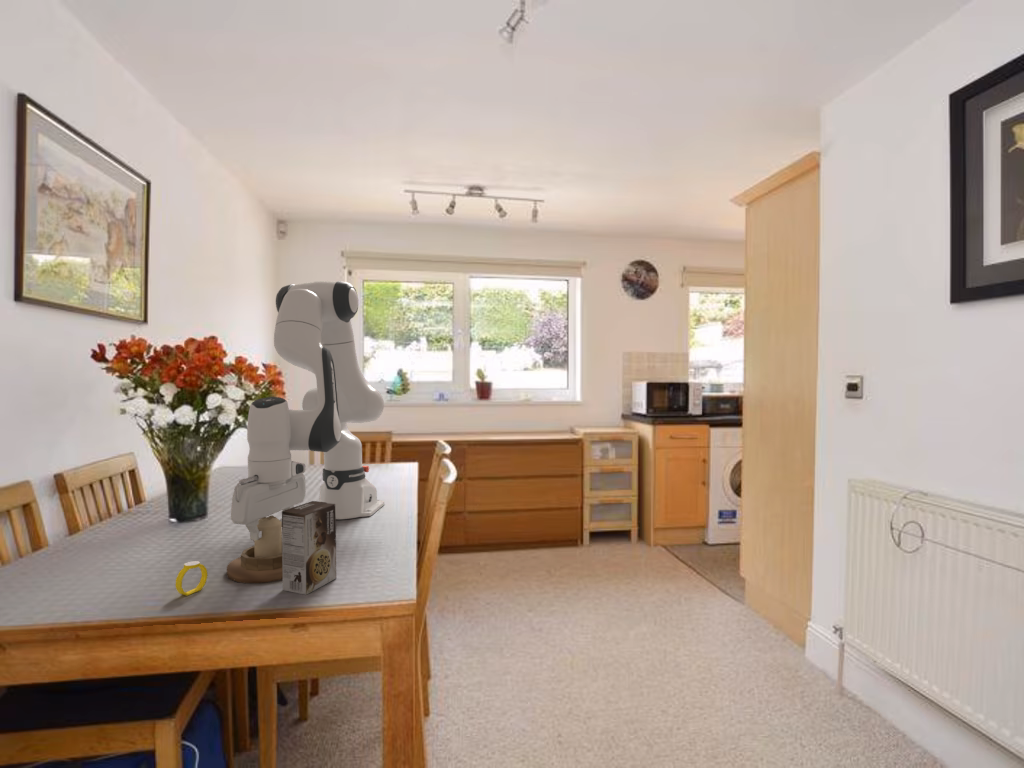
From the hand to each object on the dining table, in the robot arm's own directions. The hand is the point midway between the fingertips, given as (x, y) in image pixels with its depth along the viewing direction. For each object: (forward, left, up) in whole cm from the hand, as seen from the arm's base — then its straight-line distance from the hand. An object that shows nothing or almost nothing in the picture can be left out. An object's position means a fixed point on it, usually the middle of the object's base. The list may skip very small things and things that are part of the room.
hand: (271, 532), depth 119 cm
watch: (+15, -6, -8) cm, 18 cm away
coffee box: (+6, +14, -8) cm, 17 cm away
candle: (+1, 0, -7) cm, 7 cm away
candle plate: (0, 0, -8) cm, 8 cm away
